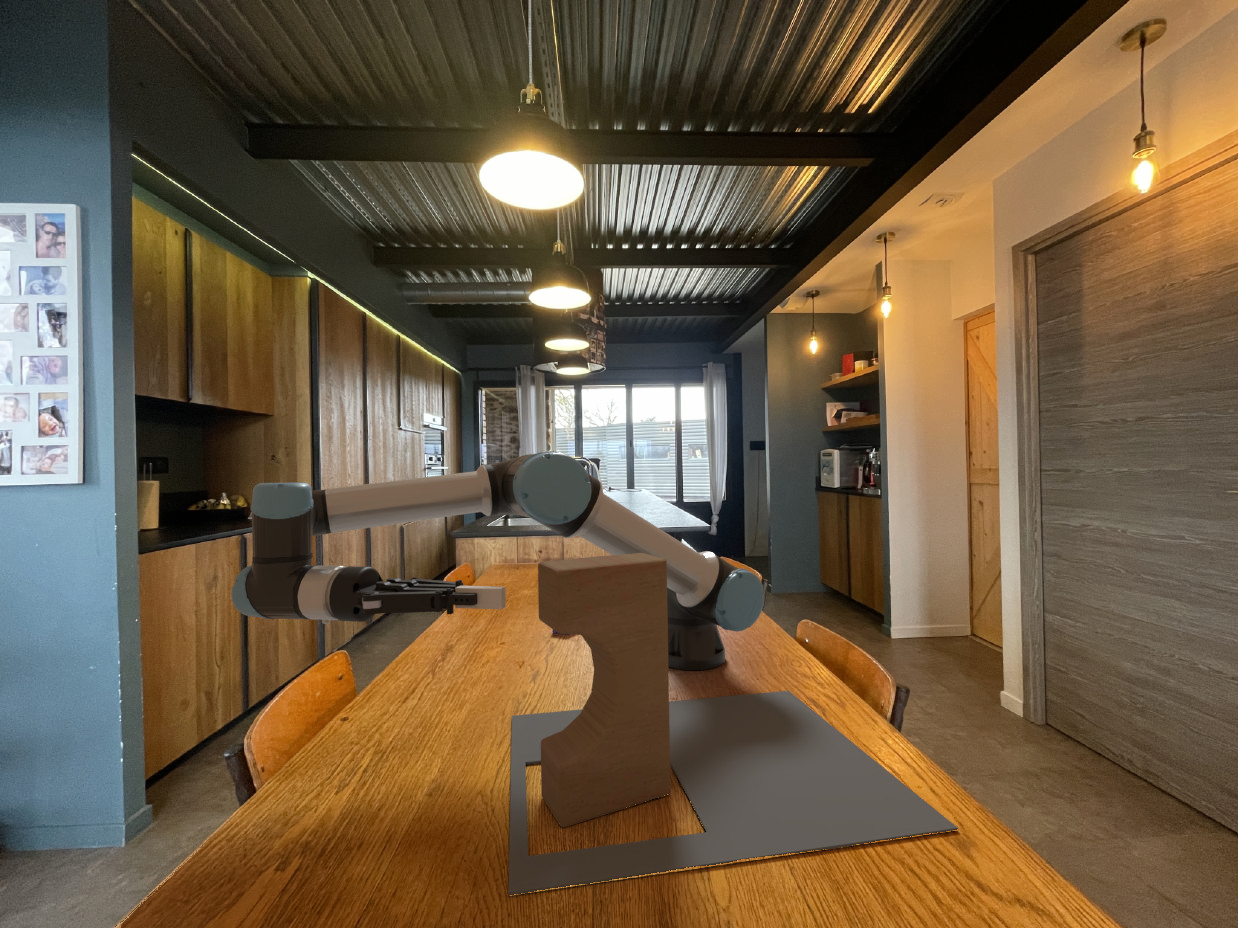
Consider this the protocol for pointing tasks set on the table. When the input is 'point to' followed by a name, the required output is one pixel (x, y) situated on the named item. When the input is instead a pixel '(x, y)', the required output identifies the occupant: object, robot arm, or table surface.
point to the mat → (732, 792)
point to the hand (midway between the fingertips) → (503, 597)
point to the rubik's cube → (558, 633)
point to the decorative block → (610, 685)
